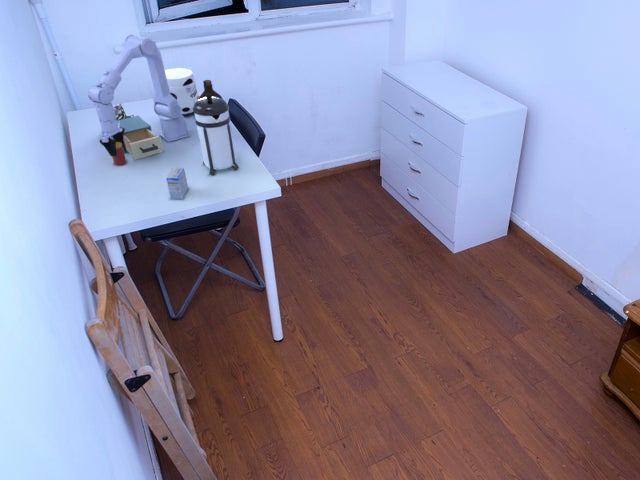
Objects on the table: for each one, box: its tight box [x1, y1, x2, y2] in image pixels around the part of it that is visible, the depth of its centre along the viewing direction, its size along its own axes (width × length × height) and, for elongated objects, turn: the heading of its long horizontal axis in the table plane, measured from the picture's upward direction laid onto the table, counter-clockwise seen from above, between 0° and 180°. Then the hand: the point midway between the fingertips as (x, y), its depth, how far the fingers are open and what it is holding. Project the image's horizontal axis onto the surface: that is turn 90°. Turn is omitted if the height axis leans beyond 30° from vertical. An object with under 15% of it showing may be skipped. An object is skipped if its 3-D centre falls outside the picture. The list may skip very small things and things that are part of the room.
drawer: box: [123, 128, 164, 161], centre depth 221 cm, size 16×12×7 cm
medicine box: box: [166, 167, 189, 200], centre depth 197 cm, size 8×4×9 cm, turn 5°
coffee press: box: [193, 93, 240, 176], centre depth 209 cm, size 17×16×30 cm
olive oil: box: [198, 79, 224, 100], centre depth 231 cm, size 11×11×25 cm
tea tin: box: [111, 142, 127, 167], centre depth 214 cm, size 5×5×8 cm
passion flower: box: [113, 103, 135, 121], centre depth 242 cm, size 11×11×12 cm
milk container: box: [164, 67, 200, 116], centre depth 255 cm, size 17×17×18 cm
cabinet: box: [110, 115, 153, 154], centre depth 229 cm, size 13×13×8 cm
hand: (117, 151), depth 214 cm, fingers open, 7 cm apart
